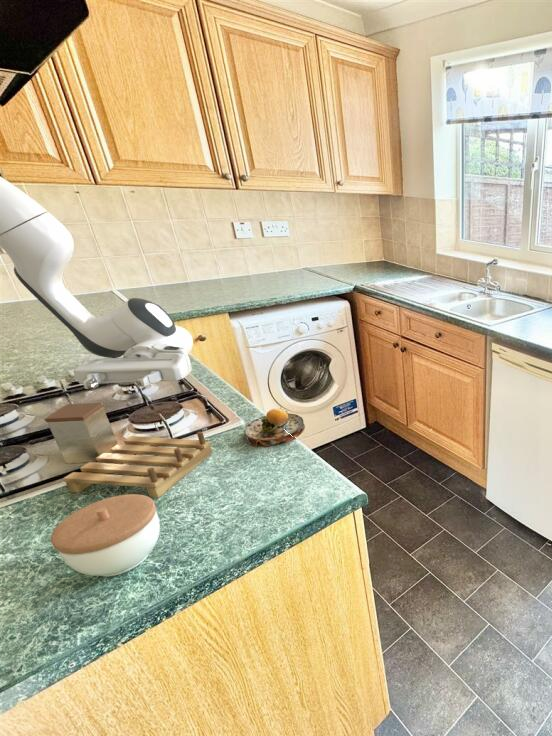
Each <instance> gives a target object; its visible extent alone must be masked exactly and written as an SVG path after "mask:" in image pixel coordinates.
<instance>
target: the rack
mask: <svg viewBox="0 0 552 736" xmlns="http://www.w3.org/2000/svg"><path fill="white" fill-rule="evenodd" d="M196 435H197V438H198V439H183V438H171V437H170V438H168V437H152V436H137V435H136V436H135V435H130V436H128V437H127V438H126V439H124V440H123V442H124V444H122V443H118V444H117V445H116V446H114V447H113V448H111V449H110V450H111V453H103V454H101V455H100V456H98V457H97V458H96V460H97V462H86V463H84V465H82V466H81V467H79V469H80V471H81V472H78V471H77V472H76V471H72V472H71V473H69V474H67V475H66V476H64V477H63V481H64V482H65V485H66V486H67V489H68V490H69V493H75V494H80V493H82V492H83V491H85V490H86V489H87V488H89V487H90V486H92V485H93V484H94V485H109V486H123V487H124V486H125V487H140V488H146V489H145V490H146V491H147V493H148V497H149V498H151V499H152V498H153V499H154V498H155V499H159V498H161V497H162V496H163V495H164V494H165V493H167V492H168V491H169V490H170V489H171V488H173V486H175V485H176V484H177V483H179V482H180V481H181V480H182V479H184V477H186V476H187V475H188V474H189V473H190V472H192V471H193V470H195V468H196V467H198V466H199V465H200V464H201V463H203V462H204V461H205V460H206V459H207V458H208V457H210V456H211V455H212V454H213V450H212V446H211V441H210V440H206V439H205V437H204V436H205V435H204V432H203V431H198V432H196ZM134 454H136V455H134ZM121 463H123V464H121Z"/></svg>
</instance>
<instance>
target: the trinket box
mask: <svg viewBox="0 0 552 736" xmlns="http://www.w3.org/2000/svg"><path fill="white" fill-rule="evenodd" d="M160 525H161V523H160V518H159V514H158V512H157V507H156V504H155V501H154V500H153V499H152V498H151V497H149V496H148V495H145V494H137V493H136V494H135V493H131V494H130V493H129V494H128V493H127V494H121V495H120V494H119V495H115V496H111V497H107V498H104V499H101V500H98V501H95V502H92V503H90V504H88V505H86V506H83V507H81V508H80V509H77V510H75V511H74V512H73V513H71V514H69V515H68V516H67V517H65V518H64V519H63V520H61V521H60V522H59V523H58V524H57V525H56V526H55V528H54V529H53V531H52V533H51V534H50V543H51V545H52V547H53V548H54V550H56V551H57V552H58V554H59V556H60V558H61V559H62V561H63V562H65V564H66V565H67V566H68V567H70V568H71V569H72V570H74V571H76V572H78V573H79V574H83V575H85V576H86V575H87V576H95V577H107V578H108V577H115V576H119V575H122V574H125V573H127V572H130V571H131V570H133V569H135V568H137V567H138V566H139V565H141V564H142V563H143V562H144V561H145V560H146V559H147V558H148V557H149V555H150V553H151V552H152V551H153V549H154V548H155V546H156V544H157V542H158V540H159V538H160V532H161V530H160V529H161V528H160V527H161V526H160Z"/></svg>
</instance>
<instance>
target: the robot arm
mask: <svg viewBox="0 0 552 736" xmlns="http://www.w3.org/2000/svg"><path fill="white" fill-rule="evenodd" d="M0 248H1V249H2V250H3V251H4V252H5V253H6V255H7V256H8V257H9V259H10V260H11V262H12V264H13V272H14V275H15V276H16V278H17V279H18V281H19V282H20V283H21V284H22V285H23V286H24V287H25V289H27V290H28V291H29V293H30V294H31V295H33V296H34V297H35V298H36V299H37V300H38V301H39V302H40V303H41V304H42V305H43V307H45V308H46V309H48V311H49V312H50V313H51V314H52V315H54V316H55V317H56V318H57V319H58V320H59V321H60V322H61V323H62V324H63V325H64V326H65V327H66V328H67V329H68V330H69V331H70V332H71V333H72V334H73V335H74V336H75V338H76V339H77V341H78V342H79V343H80V344H81V346H82V347H83V348H84V349H85V350H86V351H87V352H89V353H91V354H92V355H95V356H98V357H101V358H96V359H93V360H91V361H88V362H86V363H83V364H81V365H79V366H77V367H75V368H73V374H74V377H75V380H76V381H77V383H79V384H80V385H83V387H84V389H86V390H91V389H92V390H93V389H96V388H98V387H99V386H100V385H99V384H103V385H104V384H125V383H135V384H136V386H137V387H138V388H143V387H144V388H145V387H146V388H147V387H148V386H149V385H151V384H154V383H158V382H177V381H180V380H183V379H185V378H187V376H188V375H189V374H190V373H191V372H192V371H193V369H192V364H191V359H190V356H189V354H190V352H191V351H192V350H193V347H194V339H193V336H192V334H191V333H190V332H189V331H188V330H187V329H186V328H184V327H182V326H179V325H176V324H175V322H174V320H173V319H172V316H170V314H169V313H168V312H167V311H166V310H165V309H164V308H163V307H162V306H160V305H159V304H157V303H155V302H152V301H150V300H148V299H145V298H139V297H132V298H129V299H128V300H126V301H124V302H122V303H120V304H118V305H117V306H114V307H113V308H112V309H109V310H108V311H106V312H104V313H103V314H101V315H99V316H96V315H93V314H92V313H91V312H90V311H89V310H88V309H87V308H86V307H85V306H84V304H83V305H82V303H81V302H80V301H79V300H78V299H77V298H76V297H75V296H74V295H73V294H72V293H71V292H70V291H69V290H68V289H67V288H66V286H65V284H64V281H63V275H64V272H65V270H66V269H67V266H68V264H69V263H70V261H71V259H72V257H73V255H74V252H75V251H74V250H75V243H74V239H73V236H72V234H71V232H70V231H69V230H68V229H67V227H65V225H64V224H63V223H62V222H61V221H59V220H58V219H57V218H56V217H55V216H54V215H53V214H51V212H49V211H48V210H47V209H46V208H44V206H42V205H41V204H40V203H39V202H37V201H36V200H35V199H33V198H32V197H31V196H29V195H28V194H27V193H25V191H23V190H22V189H20V188H19V187H17V186H16V185H14V184H13V183H11V182H10V181H8V180H6V179H5V178H4V177H3V176H0Z"/></svg>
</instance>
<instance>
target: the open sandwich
mask: <svg viewBox="0 0 552 736" xmlns="http://www.w3.org/2000/svg"><path fill="white" fill-rule="evenodd" d="M304 422H305V421H304V418H303V417H302V416H300V415H298V414H295V413H289V412H288V410H286V411H285V410H284V409H282V406H280V407H279V408H271V409H270V410H269V411H267V412H266V415H265V416H261V417H259V418H256V419H255V420H254V419H253V421H251V422H250V423H248V424H247V426H246V428H245V429H244V431H243V432H244V433H243V436H244V437H246V439H247V441H248V443H249V446H254V447H258V442H259V443H260V444H261V445H263V446H265V447H270V446H275V445H276V444H280V443H281V442H285V443H288V442H290V441H293V440H294V438H298V437H299V436H301V435H302V434H303V432H304V431H305V428H306V425H305V423H304ZM284 429H285V430H286V431H287V432H288V433H290V434H291V435H292V436H293V437H294V438H293V437H292V436H291V435H290V434H288V433H287V432H286V431H285V430H284Z"/></svg>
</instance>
